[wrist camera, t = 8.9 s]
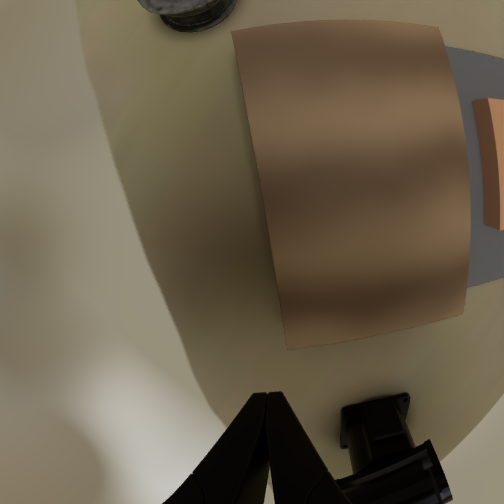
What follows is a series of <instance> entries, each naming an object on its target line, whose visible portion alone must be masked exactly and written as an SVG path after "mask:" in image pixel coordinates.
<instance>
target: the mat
mask: <svg viewBox="0 0 504 504" xmlns="http://www.w3.org/2000/svg"><path fill="white" fill-rule="evenodd" d="M445 48H446V51H447V55H448V58H449V62H450V65H451V69H452V73H453V77H454V81H455V85H456V89H457V94H458V98H459V103H460V108H461V114H462V120H463V126H464V132H465V139H466V147H467V156H468V167H469V180H470V204H471V232H470V256H469V269H468V280H467V288H468V287H472V286H476V285H479V284H483V283H486V282H490V281H493V280H497V279H500V278H504V230H501V231H500V230H497V229H495V228H493V227H490V226H488V225H485V224H484V190H483V174H482V163H481V154H480V146H479V138H478V132H477V126H476V120H475V114H474V109H473V104H472V101H475V100H480V99H485V98H492V99H500V100H504V59H502V58H498V57H495V56H491V55H487V54H482V53H478V52H473V51H468V50H463V49H458V48H452V47H446V46H445Z"/></svg>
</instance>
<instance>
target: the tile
mask: <svg viewBox="0 0 504 504" xmlns="http://www.w3.org/2000/svg"><path fill="white" fill-rule="evenodd" d="M472 104H473V109H474V114H475V120H476V126H477V132H478V138H479V146H480V154H481V163H482V174H483V190H484V224H485V225H488V226H490V227H493V228H495V229H497V230H500V231H501V230H504V100H500V99H492V98H485V99H480V100H475V101H472Z"/></svg>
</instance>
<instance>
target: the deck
mask: <svg viewBox="0 0 504 504" xmlns="http://www.w3.org/2000/svg"><path fill="white" fill-rule="evenodd" d="M231 34H232V39H233V44H234V48H235V53H236V58H237V63H238V68H239V73H240V78H241V84H242V89H243V94H244V99H245V104H246V109H247V115H248V120H249V125H250V131H251V136H252V141H253V147H254V152H255V158H256V163H257V169H258V175H259V180H260V186H261V191H262V197H263V203H264V209H265V214H266V220H267V226H268V232H269V238H270V244H271V250H272V256H273V262H274V268H275V274H276V281H277V287H278V293H279V300H280V306H281V312H282V319H283V325H284V332H285V338H286V345H287V350H293V349H300V348H307V347H314V346H321V345H327V344H333V343H339V342H345V341H350V340H356V339H361V338H366V337H371V336H376V335H381V334H386V333H390V332H395V331H399V330H404V329H408V328H412V327H416V326H420V325H424V324H428V323H432V322H436V321H440V320H443V319H447V318H451V317H454V316H458V315H461V314H463V311H464V305H465V297H466V289H467V280H468V269H469V256H470V232H471V204H470V180H469V167H468V156H467V147H466V139H465V132H464V126H463V120H462V114H461V108H460V103H459V98H458V94H457V89H456V85H455V81H454V77H453V73H452V69H451V65H450V62H449V58H448V55H447V51H446V48H445V45H444V42H443V39H442V36H441V33H440V30H439V27H433V26H427V25H419V24H412V23H402V22H391V21H376V20H319V21H303V22H292V23H282V24H274V25H266V26H260V27H253V28H247V29H242V30H236V31H231Z"/></svg>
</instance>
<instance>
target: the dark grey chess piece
mask: <svg viewBox="0 0 504 504" xmlns="http://www.w3.org/2000/svg"><path fill="white" fill-rule="evenodd" d="M138 1H139V3H140V4H141V5H142V7H143V8H145V9H147V10H148V11H150V12H152V13H156V14H160V16H161V19H162V20H163V21H164V23H165V24H166V25H167V26H169V27H170V28H172V29H174V30H177V31H180V32H197V31H202V30H205V29H208V28H211V27H213V26H215V25H217V24H219V23H220V22H222V21H223V20H224V19H225V18H226V17H228V15H229V14H230V13H231V11H232V10H233V9H234V6H235V3H236V0H138Z"/></svg>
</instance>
